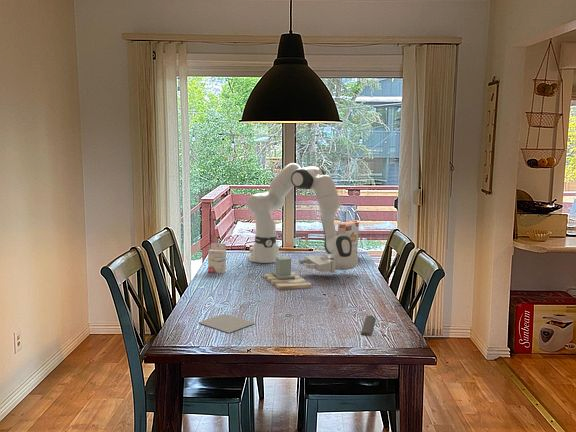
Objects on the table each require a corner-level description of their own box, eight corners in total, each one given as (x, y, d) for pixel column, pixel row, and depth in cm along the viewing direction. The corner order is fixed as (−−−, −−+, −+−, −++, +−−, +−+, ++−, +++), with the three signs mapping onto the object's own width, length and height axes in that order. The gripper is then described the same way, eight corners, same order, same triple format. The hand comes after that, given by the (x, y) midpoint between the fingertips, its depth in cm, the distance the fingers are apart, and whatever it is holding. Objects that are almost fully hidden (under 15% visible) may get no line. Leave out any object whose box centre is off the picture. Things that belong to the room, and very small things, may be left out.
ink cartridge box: (207, 272, 290) (207, 244, 287) (210, 270, 295) (210, 242, 292) (224, 273, 289) (224, 245, 287) (226, 271, 294) (226, 243, 292)
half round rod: (376, 320, 221) (376, 316, 220) (371, 337, 202) (371, 332, 202) (365, 319, 222) (365, 315, 221) (359, 336, 203) (360, 331, 203)
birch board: (263, 276, 283) (263, 273, 283) (292, 274, 289) (292, 271, 289) (279, 290, 259) (279, 286, 259) (311, 287, 265) (311, 284, 264)
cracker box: (345, 260, 323) (346, 224, 320) (336, 258, 327) (337, 223, 323) (358, 256, 334) (359, 221, 331) (349, 255, 337) (350, 220, 334)
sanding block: (271, 273, 283) (271, 255, 281) (286, 272, 285) (286, 254, 284) (279, 279, 272) (279, 260, 270) (294, 278, 274) (295, 259, 273)
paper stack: (240, 309, 230) (240, 308, 230) (287, 323, 215) (288, 321, 215) (197, 324, 212) (197, 322, 212) (245, 340, 197) (245, 338, 197)
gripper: (320, 252, 295) (295, 253, 290) (336, 260, 276) (310, 262, 271) (319, 264, 296) (295, 265, 291) (336, 273, 277) (310, 275, 272)
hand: (302, 264), depth 281 cm, fingers open, 8 cm apart
